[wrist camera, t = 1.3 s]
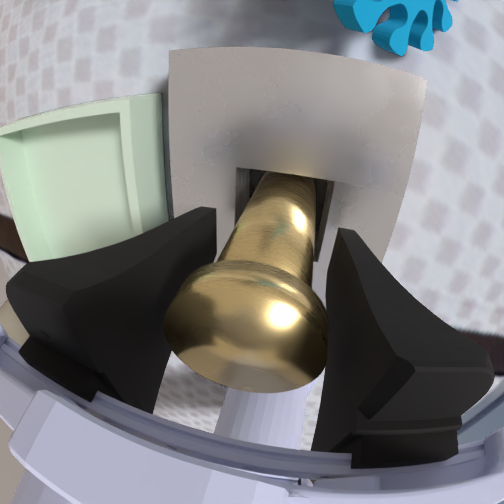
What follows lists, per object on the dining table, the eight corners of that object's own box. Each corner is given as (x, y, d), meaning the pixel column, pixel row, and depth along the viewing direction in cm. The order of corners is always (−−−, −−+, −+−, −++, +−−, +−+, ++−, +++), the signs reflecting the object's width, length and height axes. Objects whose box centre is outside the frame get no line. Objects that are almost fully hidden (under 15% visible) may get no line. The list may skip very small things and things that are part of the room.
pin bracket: (347, 303, 18) (349, 338, 15) (201, 277, 19) (185, 308, 17) (404, 79, 10) (427, 79, 7) (197, 55, 11) (169, 50, 9)
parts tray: (181, 311, 22) (166, 339, 19) (61, 275, 24) (44, 294, 21) (161, 92, 13) (129, 98, 10) (21, 118, 14) (-7, 130, 12)
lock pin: (318, 230, 15) (307, 402, 7) (247, 219, 16) (175, 373, 8) (331, 161, 13) (350, 310, 5) (251, 150, 14) (149, 272, 5)
